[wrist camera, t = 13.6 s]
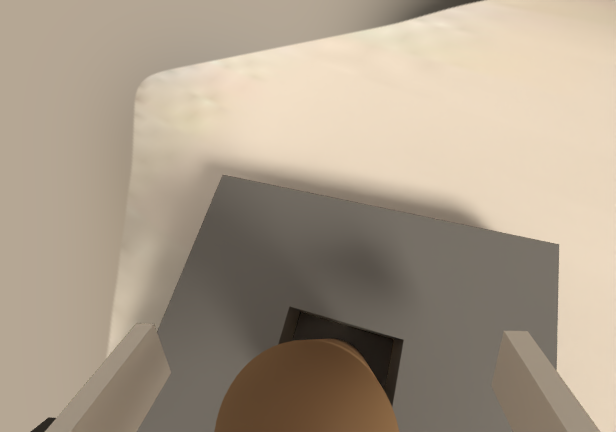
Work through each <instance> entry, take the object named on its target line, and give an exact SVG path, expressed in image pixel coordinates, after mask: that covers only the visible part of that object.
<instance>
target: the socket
mask: <svg viewBox="0 0 616 432" xmlns="http://www.w3.org/2000/svg"><path fill="white" fill-rule="evenodd" d="M558 273H559V244H554V243H550V242H545V241H540V240H535V239H530V238H525V237H521V236H516V235H511V234H506V233H501V232H496V231H492V230H487V229H482V228H477V227H472V226H468V225H463V224H458V223H453V222H448V221H443V220H439V219H434V218H429V217H424V216H419V215H414V214H410V213H405V212H400V211H395V210H390V209H385V208H381V207H376V206H371V205H366V204H361V203H357V202H352V201H347V200H342V199H337V198H332V197H328V196H323V195H318V194H313V193H308V192H303V191H299V190H294V189H289V188H284V187H279V186H275V185H270V184H265V183H260V182H255V181H250V180H246V179H241V178H236V177H231V176H226V175H223V176H222V178H221V180H220V183H219V185H218V188H217V190H216V192H215V195H214V197H213V199H212V202H211V204H210V207H209V209H208V211H207V214H206V216H205V219H204V221H203V223H202V226H201V228H200V231H199V233H198V235H197V238H196V240H195V243H194V245H193V247H192V250H191V252H190V255H189V257H188V259H187V262H186V264H185V267H184V269H183V271H182V274H181V276H180V279H179V281H178V283H177V286H176V288H175V291H174V293H173V295H172V298H171V300H170V303H169V305H168V307H167V310H166V312H165V315H164V317H163V319H162V322H161V324H160V326H159V329H158V331H157V334H158V336H159V339H160V342H161V345H162V348H163V351H164V354H165V356H166V359H167V362H168V365H169V368H170V371H171V374H170V376H169V377H168V379H167V381H166V382H165V384H164V386H163V387H162V389H161V391H160V393H159V394H158V396H157V398H156V399H155V401H154V403H153V405H152V406H151V408H150V410H149V411H148V413H147V415H146V416H145V418H144V420H143V422H142V423H141V425H140V427H139V428H138V430H137V432H214V431H215V425H216V420H217V417H218V413H219V409H220V407H221V404H222V401H223V399H224V396H225V395H226V393H227V391H228V389H229V387H230V385H231V384H232V382H233V381H234V379H235V378H236V376H237V375H238V374H239V372H240V371H241V370H242V369H243V368H244V367H245V366H246V365H247V364H248V363H249V362H250V361H251V360H252V359H253V358H255V357H256V356H258V355H259V354H260V353H262V352H263V351H265V350H267V349H269V348H271V347H273V346H276V345H279V344H281V343H285V342H290V341H292V339H293V336H294V332H295V329H296V325H297V322H298V318H299V314H300V312H303V313H306V314H310V315H313V316H317V317H320V318H323V319H327V320H330V321H333V322H337V323H340V324H344V325H347V326H350V327H354V328H357V329H361V330H364V331H367V332H371V333H374V334H377V335H381V336H384V337H388V338H391V339H394V341H393V347H392V352H391V358H390V363H389V369H388V374H387V380H386V385H385V393H386V395H387V397H388V399H389V401H390V403H391V406H392V408H393V411H394V414H395V417H396V420H397V424H398V428H399V432H513V430H512V428H511V426H510V424H509V422H508V420H507V418H506V416H505V414H504V412H503V409H502V407H501V405H500V403H499V401H498V399H497V397H496V395H495V393H494V391H493V388H492V386H491V385H492V380H493V376H494V372H495V367H496V363H497V358H498V354H499V350H500V345H501V341H502V337H503V332H504V331H528V332H529V334H530V335H531V336H532V338H533V339H534V341H535V342H536V343H537V345H538V346H539V348H540V349H541V350H542V352H543V353H544V354H545V356H546V357H547V359H548V360H549V361H550V363H551V364H552V366H553V367H554V368H555V370H556V369H557V321H558Z"/></svg>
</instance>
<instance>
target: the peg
mask: <svg viewBox="0 0 616 432" xmlns="http://www.w3.org/2000/svg"><path fill="white" fill-rule="evenodd" d="M214 432H399V428H398V424H397V420H396V417H395V414H394V411H393V408H392V406H391V403H390V401H389V399H388V397H387V395H386V393H385V391H384V390H383V388H382V386H381V385H380V383H379V382H378V380H377V378H376V377H375V375H374V374H373V372H372V370H371V369H370V367H369V366H368V364H367V362H366V361H365V359H364V357H363V356H362V354H361V353H360V352H359V351H358V350H357V349H356V348H355V347H354V346H353V345H351V344H350V343H348V342H346V341H344V340H340V339H334V338H331V339H313V340H295V341H290V342H285V343H281V344H279V345H276V346H273V347H271V348H269V349H267V350H265V351H263V352H262V353H260V354H259V355H258V356H256V357H255V358H253V359H252V360H251V361H250V362H249V363H248V364H247V365H246V366H245V367H244V368H243V369H242V370H241V371H240V372H239V374H238V375H237V376H236V378H235V379H234V381H233V382H232V384H231V385H230V387H229V389H228V391H227V393H226V395H225V396H224V399H223V401H222V404H221V407H220V409H219V413H218V417H217V420H216V425H215V431H214Z"/></svg>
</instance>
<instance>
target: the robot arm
mask: <svg viewBox="0 0 616 432" xmlns="http://www.w3.org/2000/svg"><path fill="white" fill-rule="evenodd" d="M170 374H171V371H170V368H169V365H168V362H167V359H166V356H165V354H164V351H163V348H162V345H161V342H160V339H159V336H158V334H157V331H156V328H155V325H154V324H141V323H136V325H135V326H134V327H133V328H132V329H131V330H130V332H129V333H128V334H127V335H126V336H125V338H124V339H123V340H122V341H121V342H120V343H119V345H118V346H117V347H116V348H115V349H114V351H113V352H112V353H111V354H110V355H109V356H108V358H107V359H106V360H105V361H104V362H103V364H102V365H101V366H100V367H99V369H98V370H97V371H96V372H95V373H94V374H93V375H92V377H91V378H90V379H89V380H88V381H87V382H86V384H85V385H84V386H83V387H82V389H81V390H80V391H79V392H78V393H77V394H76V395H75V397H74V398H73V399H72V400H71V401H70V403H69V404H68V405H67V406H66V407H65V408H64V410H63V411H62V412H61V413H60V415H59V416H58V417H57V418H47V419H46V420H45V421H44V422H42V423H41V424H40V425H39V426H37V427H36V428H35V429H34V430H32V431H31V432H137V430H138V428H139V427H140V425H141V423H142V422H143V420H144V418H145V416H146V415H147V413H148V411H149V410H150V408H151V406H152V405H153V403H154V401H155V399H156V398H157V396H158V394H159V393H160V391H161V389H162V387H163V386H164V384H165V382H166V381H167V379H168V377H169V376H170ZM491 386H492V388H493V391H494V393H495V395H496V397H497V399H498V401H499V403H500V405H501V407H502V409H503V412H504V414H505V416H506V418H507V420H508V422H509V424H510V426H511V428H512V430H513V432H600V431H599V429H598V428H597V426H596V425H595V424H594V422H593V421H592V420H591V418H590V417H589V415H588V414H587V413H586V411H585V410H584V408H583V407H582V406H581V404H580V403H579V402H578V400H577V399H576V397H575V396H574V395H573V393H572V392H571V390H570V389H569V388H568V386H567V385H566V384H565V382H564V381H563V379H562V378H561V377H560V375H559V374H558V372H557V371H556V370H555V368H554V367H553V366H552V364H551V363H550V361H549V360H548V359H547V357H546V356H545V354H544V353H543V352H542V350H541V349H540V348H539V346H538V345H537V343H536V342H535V341H534V339H533V338H532V336H531V335H530V334H529V332H528V331H504V332H503V337H502V341H501V345H500V350H499V354H498V358H497V363H496V367H495V372H494V376H493V380H492V385H491Z"/></svg>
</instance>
